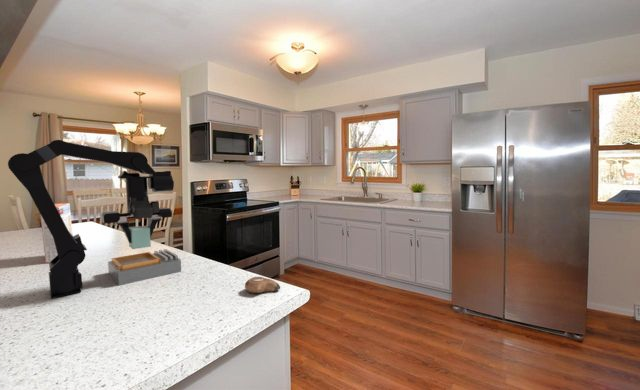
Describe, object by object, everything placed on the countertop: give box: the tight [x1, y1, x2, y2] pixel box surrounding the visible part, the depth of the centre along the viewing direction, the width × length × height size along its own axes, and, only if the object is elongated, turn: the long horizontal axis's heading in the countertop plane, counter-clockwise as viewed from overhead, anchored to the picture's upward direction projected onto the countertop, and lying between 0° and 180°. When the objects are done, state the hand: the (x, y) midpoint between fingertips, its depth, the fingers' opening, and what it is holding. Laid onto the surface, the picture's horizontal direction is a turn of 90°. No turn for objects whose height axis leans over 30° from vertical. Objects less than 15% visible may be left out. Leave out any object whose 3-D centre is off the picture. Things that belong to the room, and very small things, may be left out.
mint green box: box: [128, 225, 152, 250], centre depth 100 cm, size 5×7×6 cm
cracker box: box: [39, 202, 74, 264], centre depth 121 cm, size 14×6×21 cm, turn 25°
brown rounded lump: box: [244, 276, 281, 294], centre depth 87 cm, size 9×4×8 cm
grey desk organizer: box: [107, 248, 182, 286], centre depth 104 cm, size 18×15×5 cm
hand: (139, 241), depth 99 cm, fingers closed on mint green box, 5 cm apart
